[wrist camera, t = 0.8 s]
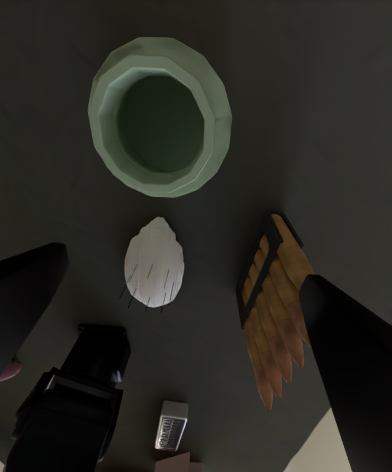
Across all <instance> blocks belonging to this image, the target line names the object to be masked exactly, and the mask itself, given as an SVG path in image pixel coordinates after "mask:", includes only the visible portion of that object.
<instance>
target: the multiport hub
mask: <svg viewBox="0 0 392 472" xmlns="http://www.w3.org/2000/svg"><path fill="white" fill-rule="evenodd" d="M187 413H188V404H187V403H180V402H174V401H167V400H164V401H163V406H162V411H161V416H160V420H159V425H158V430H157V436H156V442H155V448H157V449H163V450H170V451H176V450H177V448H178V445H179V442H180V439H181V436H182V433H183V430H184V427H185V424H186V421H187Z"/></svg>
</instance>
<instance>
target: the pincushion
mask: <svg viewBox="0 0 392 472" xmlns="http://www.w3.org/2000/svg"><path fill="white" fill-rule="evenodd" d="M175 240H176V235H175V232H172V229H171V228H169V225H168V223H167V222H166V221H165V219H164V218H163V217H161V218H160V217H156V218H155V219H154V220H152V221H151V222H150V223H149V224H147V225H146V226H145V227H142V229H141V230H140V233H139V235H138V236H137V235H136V236H135V237H133V238H132V239H131V241H130V245H129V247H128V250H127V253H126V257H125V267H124V268H125V279H126V285H127V286H128V290H129V291H130V293H131V295H133V296H134V298H135V297H136V299H138V300H139V301H141V302H142V303H144V304H145V305H147V306H148V307H159V306H161V305H165V304H168V303H169V304H170V302H171V301H173V300H174V298H175V297H176V295H177V293H178V291H179V289H180V287H181V283H182V277H183V273H184V263H183V253H182V246H181V245H180V244H179V242H177V241H175ZM126 285H125V287H126ZM125 287H124V289H125ZM123 291H124V290H123ZM122 293H123V292H122ZM121 295H122V294H121ZM133 296H132V298H133ZM120 297H121V296H120ZM119 299H120V298H119ZM131 301H132V299H131ZM131 301H130V303H131ZM129 306H130V304H129ZM129 306H128V308H129ZM146 309H147V307H146ZM162 309H163V306H162ZM145 312H146V310H145ZM161 313H162V310H161Z"/></svg>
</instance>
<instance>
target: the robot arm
mask: <svg viewBox="0 0 392 472" xmlns="http://www.w3.org/2000/svg"><path fill="white" fill-rule="evenodd" d="M69 265H70V260H69V256H68V251H67V247H66V245H65V244H63V243H56V242H52V243H49V244H46V245H44V246H41V247H38V248H35V249H32V250H30V251H27V252H24V253H21V254H18V255H16V256H13V257H10V258H7V259H4V260H2V261H0V376H1V375H2V373H3V372H4V370H5V369H6V367H7V366H8V364H9V363H10V362H11V360H12V359H13V357H14V356H15V354H16V353H17V351H18V350H19V348H20V347H21V345H22V344H23V342H24V341H25V339H26V338H27V336H28V335H29V333H30V332H31V330H32V329H33V327H34V326H35V324H36V323H37V322H38V320H39V319H40V317H41V316H42V314H43V313H44V311H45V310H46V308H47V307H48V305H49V303H50V302H51V300H52V298H53V297H54V295H55V293H56V291H57V289H58V287H59V285H60V283H61V282H62V280H63V278H64V276H65V274H66V272H67V270H68V268H69ZM299 298H300V303H301V307H302V312H303V317H304V322H305V326H306V331H307V335H308V338H309V341H310V344H311V347H312V350H313V354H314V357H315V360H316V363H317V366H318V369H319V372H320V375H321V378H322V381H323V384H324V387H325V390H326V393H327V396H328V399H329V402H330V405H331V408H332V411H333V414H334V418H335V421H336V423H337V427H338V430H339V433H340V436H341V439H342V442H343V445H344V448H345V451H346V454H347V457H348V460H349V463H350V466H351V469H352V472H392V326H391V325H390V324H388V323H387V322H386V321H384V320H383V319H381V318H380V317H378V316H377V315H376V314H374V313H373V312H371V311H370V310H369V309H367V308H366V307H364V306H363V305H361V304H360V303H359V302H357V301H356V300H354V299H353V298H352V297H350V296H349V295H347V294H346V293H344V292H343V291H342V290H340V289H339V288H337V287H336V286H335V285H333V284H332V283H330V282H329V281H327V280H326V279H325V278H323V277H322V276H320V275H315V274H308V275H307V276H306V277H305V279H304V282H303V284H302V286H301V288H300V291H299ZM77 331H78V334H79V338H78V339H77V341H76V343H75V345H74V346H73V348H72V350H71V351H70V353H69V355H68V357H67V358H66V360H65V362H64V364H63V365H62V367H61V369H60V370H58V368H55V367H53V368H52V369H51V371H50V372H45V373H43V375H42V376H41V378H40V379H39V381H38V383H37V384H36V386H35V387H34V389H33V390H32V391H31V393H30V394H29V396H28V397H27V398H26V400H25V401H24V402H23V404H22V405H21V406H20V408H19V409H18V411H17V412H16V414H15V420H16V424H15V426H14V428H15V429H14V431H13V433H12V435H11V439H15V440H17V441H16V442H15V444H14V446H13V448H12V449H11V451H10V453H9V455H8V457H7V460H6V463H5V466H4V469H3V472H95V469H96V466H97V463H98V461H102V459H103V458H104V456H105V454H106V452H107V450H108V447H109V445H110V442H111V439H112V436H113V433H114V430H115V426H116V422H117V418H118V413H119V409H120V404H121V400H122V395H123V390H121V389H119V390H118V389H115V386H116V383H117V382H121V381H122V378H123V375H124V372H125V369H126V366H127V363H128V359H129V357H130V353H131V351H130V345H129V341H128V340H127V335H126V330H125V329H124V328H122V327H108V326H95V325H78V327H77Z"/></svg>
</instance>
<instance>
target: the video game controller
mask: <svg viewBox="0 0 392 472" xmlns="http://www.w3.org/2000/svg"><path fill="white" fill-rule="evenodd" d="M20 369H21V365H20V363H17V362H10V363H9V364H8V366H7V367H6V369H5V370H4V372H3V373H2V375H1V376H0V381H3V380H6V379H8V378H11V377H13V376H14V375H16V374H17V373H18V372H19V371H20Z"/></svg>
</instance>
